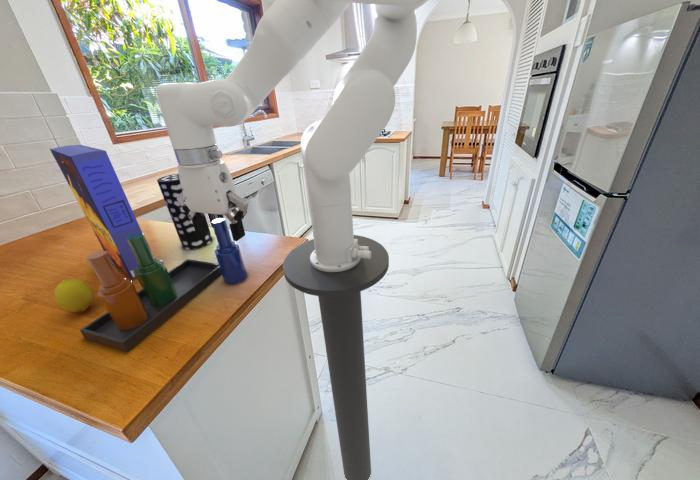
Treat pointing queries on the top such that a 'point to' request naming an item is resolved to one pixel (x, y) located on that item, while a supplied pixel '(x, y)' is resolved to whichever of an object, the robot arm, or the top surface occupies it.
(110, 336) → the tray
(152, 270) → the green bottle
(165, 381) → the top surface
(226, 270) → the blue bottle
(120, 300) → the amber bottle
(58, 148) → the cereal box
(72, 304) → the lemon
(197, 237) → the spotted tube
